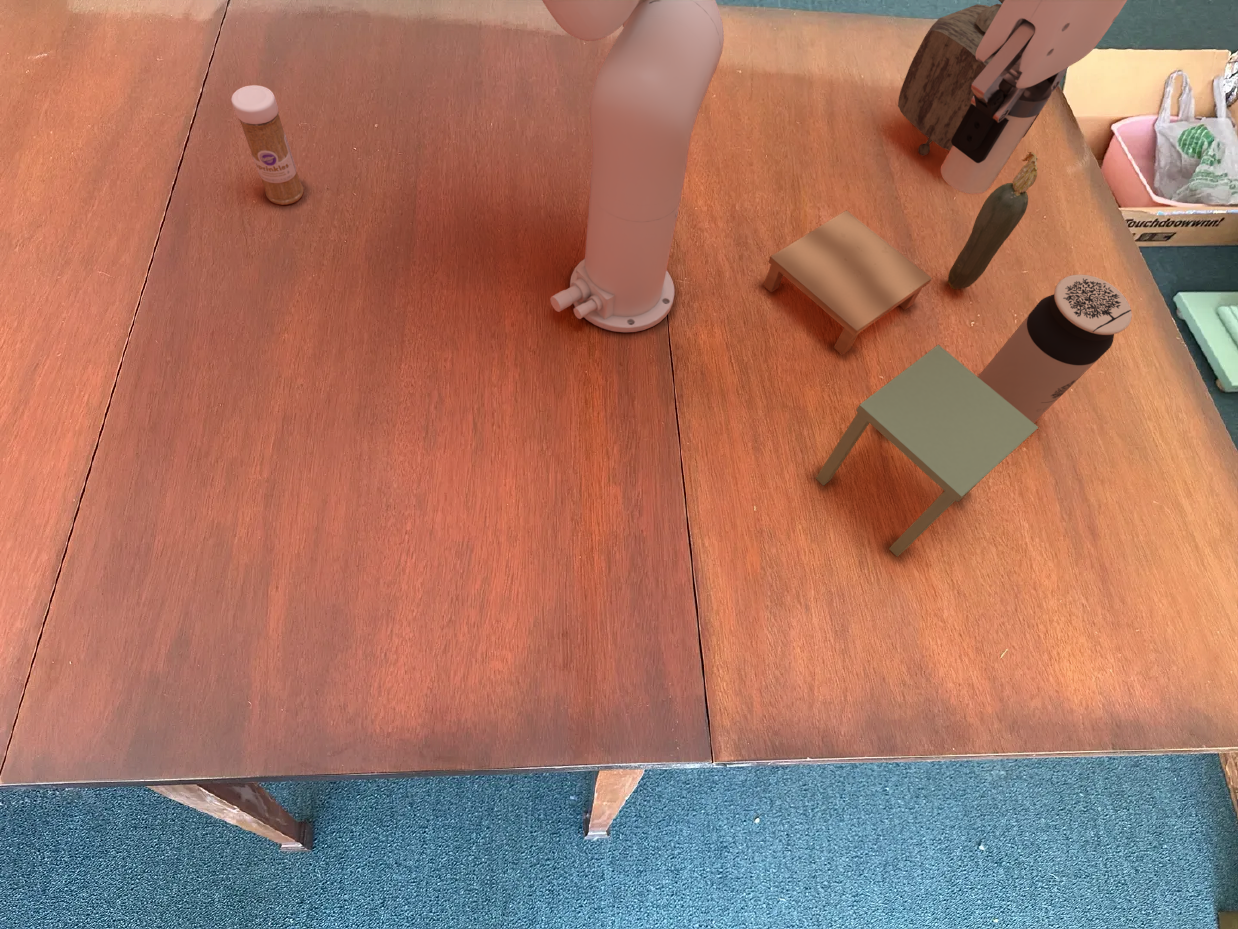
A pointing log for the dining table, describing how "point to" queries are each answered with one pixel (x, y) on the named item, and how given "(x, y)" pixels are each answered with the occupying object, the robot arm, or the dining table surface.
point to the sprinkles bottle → (268, 143)
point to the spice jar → (997, 142)
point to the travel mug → (1057, 343)
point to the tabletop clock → (945, 74)
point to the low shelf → (848, 274)
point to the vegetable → (993, 226)
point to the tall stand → (938, 430)
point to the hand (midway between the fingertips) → (987, 139)
